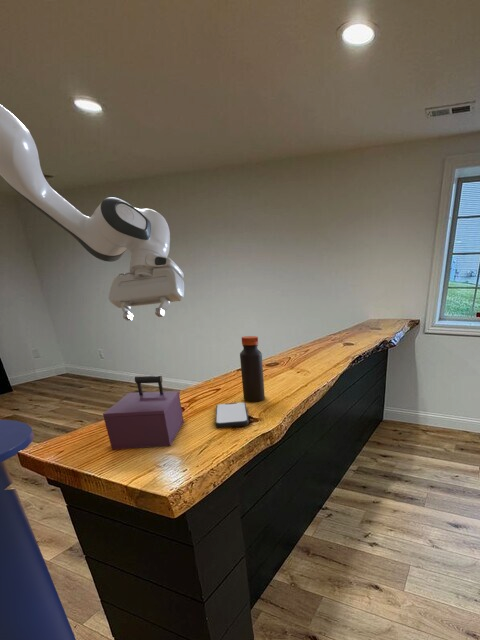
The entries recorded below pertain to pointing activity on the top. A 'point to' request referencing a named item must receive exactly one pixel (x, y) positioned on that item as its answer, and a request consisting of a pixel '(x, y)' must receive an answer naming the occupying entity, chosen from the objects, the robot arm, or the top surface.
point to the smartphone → (231, 415)
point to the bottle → (252, 370)
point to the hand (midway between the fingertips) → (143, 317)
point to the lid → (143, 400)
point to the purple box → (145, 428)
